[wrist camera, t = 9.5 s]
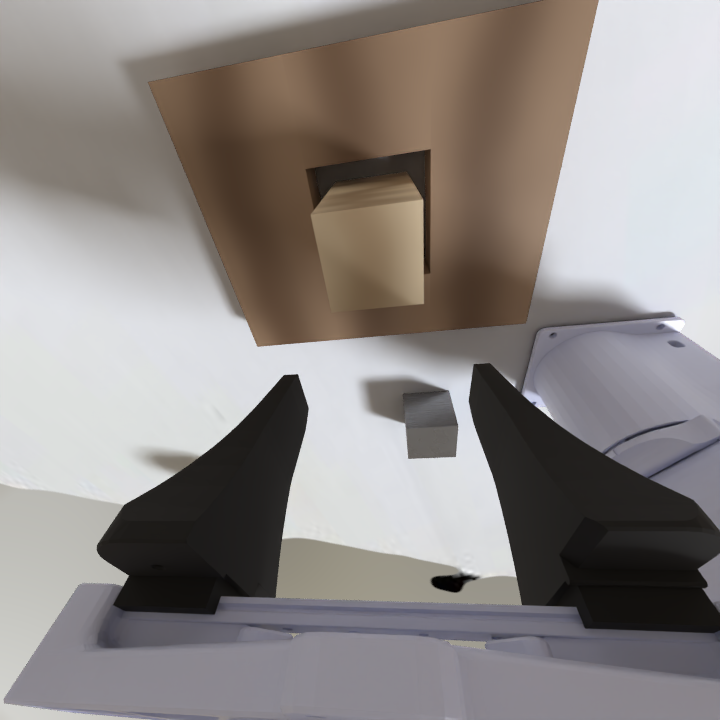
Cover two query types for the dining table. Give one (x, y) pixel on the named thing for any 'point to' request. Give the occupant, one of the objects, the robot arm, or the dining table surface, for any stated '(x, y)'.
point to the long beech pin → (371, 242)
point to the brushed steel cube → (430, 425)
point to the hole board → (385, 138)
